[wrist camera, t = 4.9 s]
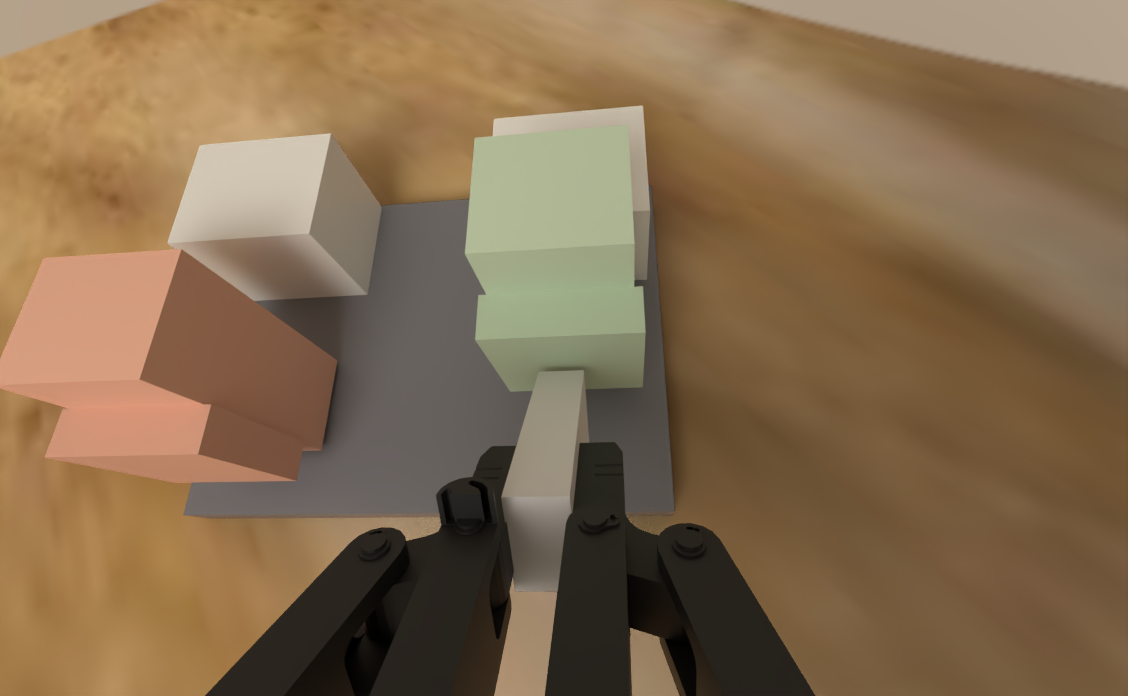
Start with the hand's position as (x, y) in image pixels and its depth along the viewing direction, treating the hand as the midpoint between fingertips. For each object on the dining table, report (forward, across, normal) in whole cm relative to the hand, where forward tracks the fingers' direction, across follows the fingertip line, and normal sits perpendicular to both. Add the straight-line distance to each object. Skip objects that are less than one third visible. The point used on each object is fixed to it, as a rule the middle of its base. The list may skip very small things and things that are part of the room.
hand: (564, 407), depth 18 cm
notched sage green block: (+5, 0, 0) cm, 5 cm away
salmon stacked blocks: (+3, -13, -2) cm, 13 cm away
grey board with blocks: (+7, -6, -1) cm, 9 cm away
